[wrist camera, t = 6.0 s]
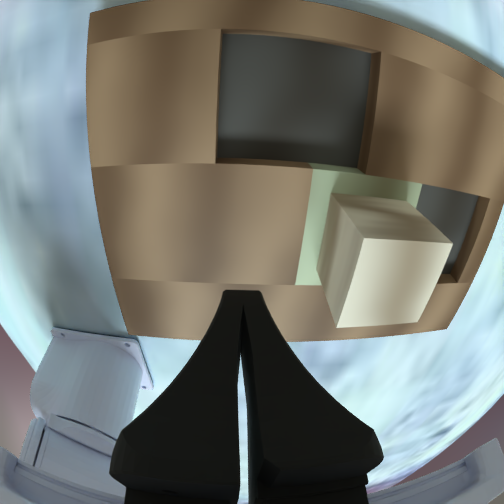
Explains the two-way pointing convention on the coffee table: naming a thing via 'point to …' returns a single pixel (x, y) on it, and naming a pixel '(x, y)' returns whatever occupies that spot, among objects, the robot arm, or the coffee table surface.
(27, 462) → the robot arm
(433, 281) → the block
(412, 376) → the coffee table surface
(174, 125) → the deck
